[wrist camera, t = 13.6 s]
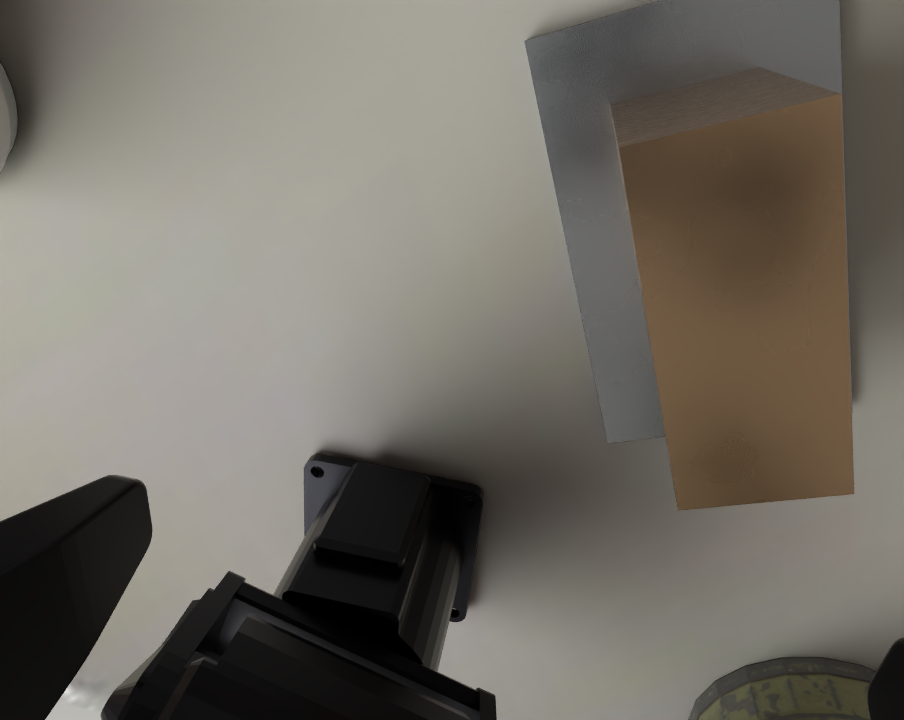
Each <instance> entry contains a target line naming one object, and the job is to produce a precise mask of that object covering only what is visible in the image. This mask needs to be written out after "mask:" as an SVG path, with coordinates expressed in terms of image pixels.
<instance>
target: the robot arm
mask: <svg viewBox="0 0 904 720" xmlns="http://www.w3.org/2000/svg"><path fill="white" fill-rule="evenodd" d="M315 466H318V467H320V468H322V469H323V471H319V470H318V469H317V468H316V467H315ZM465 496H470V497H473V498H474V499H475V500H473V501H470V500H467V499H466V498H465ZM483 504H484V492H483V490H482V489H481V488H480V487H479V486H477V485H475V484H471V483H466V482H461V481H456V480H451V479H446V478H441V477H435V476H430V475H425V474H420V473H415V472H410V471H405V470H399V469H394V468H389V467H384V466H379V465H374V464H369V463H363V462H358V461H353V460H348V459H343V458H338V457H333V456H327V455H322V454H315V455H313V456H311V457H310V458H309V460H308V461H307V463H306V464H305V467H304V534H305V538H304V539H303V541H302V543H301V545H300V547H299V549H298V550H297V552H296V554H295V556H294V558H293V560H292V561H291V563H290V565H289V567H288V569H287V570H286V572H285V574H284V576H283V578H282V580H281V581H280V583H279V585H278V587H277V589H276V591H275V592H274V594H273V595H272V594H270V593H267V592H265V591H263V590H261V589H259V588H257V587H255V586H252V585H250V584H248V583H246V582H245V579H246V578H243V577H241V576H239V575H237V574H235V573H233V572H231V571H229V572H228V573H227V574H226V575H225V577H224V578H223V579H222V580H221V582H220V583H219V584H218V586H217V587H216V588H215V590H213V589H211V588H209V589H208V590H207V592H206V593H205V594H204V595H203V597H202V598H201V599H200V600H193V601H192V602H191V604H190V605H189V607H188V608H187V609H186V611H185V612H184V614H183V615H182V617H181V618H180V620H179V621H178V623H177V624H176V626H175V627H174V629H173V630H172V631H171V633H170V634H169V636H168V637H167V638H166V640H165V641H164V642H163V644H162V645H161V646H160V647H159V648H158V649H157V650H156V651H155V652H154V653H153V654H152V655H151V656H150V657H149V658H148V659H147V660H146V661H145V662H144V663H143V664H142V665H141V666H140V667H139V668H137V669H136V670H135V671H134V672H133V673H132V674H131V675H130V676H129V677H128V678H127V679H126V680H125V681H124V682H123V683H122V684H121V685H120V686H119V687H117V688H116V689H115V691H114V692H113V693H112V695H111V696H110V698H109V699H108V701H107V702H106V704H105V706H104V708H103V710H102V712H101V719H102V720H497V719H496V700H495V695H494V694H491V693H489V692H487V691H485V690H483V689H481V688H477V689H476V690H475V689H473V688H471V687H469V686H466V685H464V684H462V683H460V682H458V681H456V680H454V679H451V678H449V677H447V676H445V675H443V674H441V673H439V672H437V671H438V667H439V663H440V658H441V654H442V650H443V645H444V641H445V637H446V633H447V628H448V624H449V621H451V622H460V621H462V620H463V619H465V617H466V613H467V608H468V602H469V595H470V589H471V582H472V576H473V569H474V563H475V556H476V550H477V543H478V537H479V530H480V524H481V517H482V511H483ZM151 538H152V523H151V516H150V509H149V503H148V496H147V490H146V486H145V485H144V483H143V482H142V481H140V480H138V479H133V478H129V477H124V476H119V475H108V476H105V477H103V478H100V479H98V480H96V481H93V482H91V483H89V484H86V485H84V486H82V487H79V488H77V489H75V490H72V491H70V492H68V493H65V494H63V495H61V496H58V497H56V498H54V499H51V500H49V501H47V502H44V503H42V504H40V505H37V506H35V507H33V508H30V509H28V510H26V511H23V512H21V513H19V514H16V515H14V516H12V517H9V518H7V519H5V520H2V521H0V720H45V719H46V717H47V716H48V715H49V713H50V712H51V710H52V708H53V707H54V706H55V704H56V703H57V702H58V700H59V699H60V697H61V696H62V694H63V693H64V691H65V690H66V688H67V687H68V685H69V684H70V683H71V681H72V680H73V678H74V677H75V675H76V674H77V672H78V671H79V669H80V668H81V666H82V665H83V663H84V662H85V660H86V658H87V657H88V655H89V654H90V652H91V650H92V648H93V647H94V645H95V643H96V642H97V640H98V638H99V636H100V635H101V633H102V631H103V629H104V627H105V625H106V624H107V622H108V620H109V618H110V616H111V615H112V613H113V611H114V609H115V607H116V606H117V604H118V602H119V600H120V598H121V596H122V595H123V593H124V591H125V589H126V587H127V586H128V584H129V582H130V580H131V578H132V577H133V575H134V573H135V571H136V569H137V567H138V566H139V564H140V562H141V560H142V558H143V557H144V555H145V553H146V551H147V549H148V547H149V544H150V542H151ZM452 608H455V609H457V610H455V609H452ZM867 705H868V711H869V716H870V720H904V638H900V639H898V640H897V641H895V642H894V643H893V645H892V646H891V648H890V650H889V651H888V653H887V655H886V656H885V658H884V660H883V661H882V663H881V665H880V666H879V668H878V670H877V671H876V673H875V675H874V676H873V678H872V680H871V682H870V684H869V687H868V692H867Z"/></svg>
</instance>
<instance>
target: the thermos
mask: <svg viewBox="0 0 904 720" xmlns="http://www.w3.org/2000/svg"><path fill="white" fill-rule="evenodd" d="M875 673H876V672H874V671H872V670H870V669H868V668H866V667H863V666H861V665H856V664H851V663H846V662H841V661H836V660H831V659H825V658H781V659H776V660H772V661H767V662H763V663H758V664H754V665H749V666H745V667H743V668H741V669H739V670H737V671H735V672H733V673H731V674H729V675H727V676H725V677H723V678H721V679H719V680H717V681H715V682H714V683H713V684H712V685H711V686H710V687H709V688H708V689H707V690H706V691H705V692H704V693H703V694H702V695H701V696H700V697H699V698H698V699H697V700H696V702H695V704H694V707H693V710H692V712H691V715H690V717H689V720H870V716H869V711H868V705H867V692H868V687H869V684H870V682H871V680H872V678H873V676H874V675H875Z"/></svg>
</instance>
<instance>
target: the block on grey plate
mask: <svg viewBox="0 0 904 720" xmlns="http://www.w3.org/2000/svg"><path fill="white" fill-rule="evenodd" d="M525 46H526V50H527V55H528V60H529V65H530V70H531V75H532V79H533V84H534V89H535V94H536V99H537V104H538V108H539V113H540V118H541V123H542V128H543V133H544V137H545V142H546V147H547V152H548V157H549V162H550V166H551V171H552V176H553V181H554V186H555V191H556V195H557V200H558V205H559V210H560V215H561V220H562V224H563V229H564V234H565V239H566V244H567V249H568V253H569V258H570V263H571V268H572V273H573V278H574V283H575V287H576V292H577V297H578V302H579V307H580V312H581V316H582V321H583V326H584V331H585V336H586V341H587V345H588V350H589V355H590V360H591V365H592V370H593V374H594V379H595V384H596V389H597V394H598V399H599V403H600V408H601V413H602V418H603V423H604V428H605V432H606V437H607V442H608V443H615V442H623V441H631V440H640V439H648V438H656V437H664V436H665V438H666V443H667V449H668V455H669V460H670V466H671V472H672V477H673V483H674V489H675V494H676V500H677V506H678V510H688V509H698V508H709V507H720V506H730V505H741V504H752V503H763V502H773V501H784V500H795V499H806V498H816V497H827V496H838V495H848V494H854V472H853V440H852V384H851V352H850V320H849V288H848V256H847V224H846V192H845V161H844V129H843V97H842V65H841V33H840V1H839V0H660V1H657V2H654V3H650V4H647V5H644V6H640V7H637V8H633V9H630V10H627V11H623V12H620V13H617V14H613V15H610V16H606V17H603V18H600V19H596V20H593V21H590V22H586V23H583V24H579V25H576V26H573V27H569V28H566V29H563V30H559V31H556V32H552V33H549V34H546V35H542V36H539V37H536V38H532V39H529V40H526V41H525Z"/></svg>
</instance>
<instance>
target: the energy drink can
mask: <svg viewBox="0 0 904 720" xmlns="http://www.w3.org/2000/svg"><path fill="white" fill-rule="evenodd" d="M17 122H18V118H17V109H16V102H15V98H14V94H13V90H12V87H11V84H10V82H9V79H8V77H7V75H6V72H5V70H4V68H3V66H2V65H1V63H0V172H1V170H2V169H3V167H4V165H5V162H6V159H7V156H8V154H9V153H10V151H11V149H12V148H13V145H14V141H15V138H16V134H17Z"/></svg>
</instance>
